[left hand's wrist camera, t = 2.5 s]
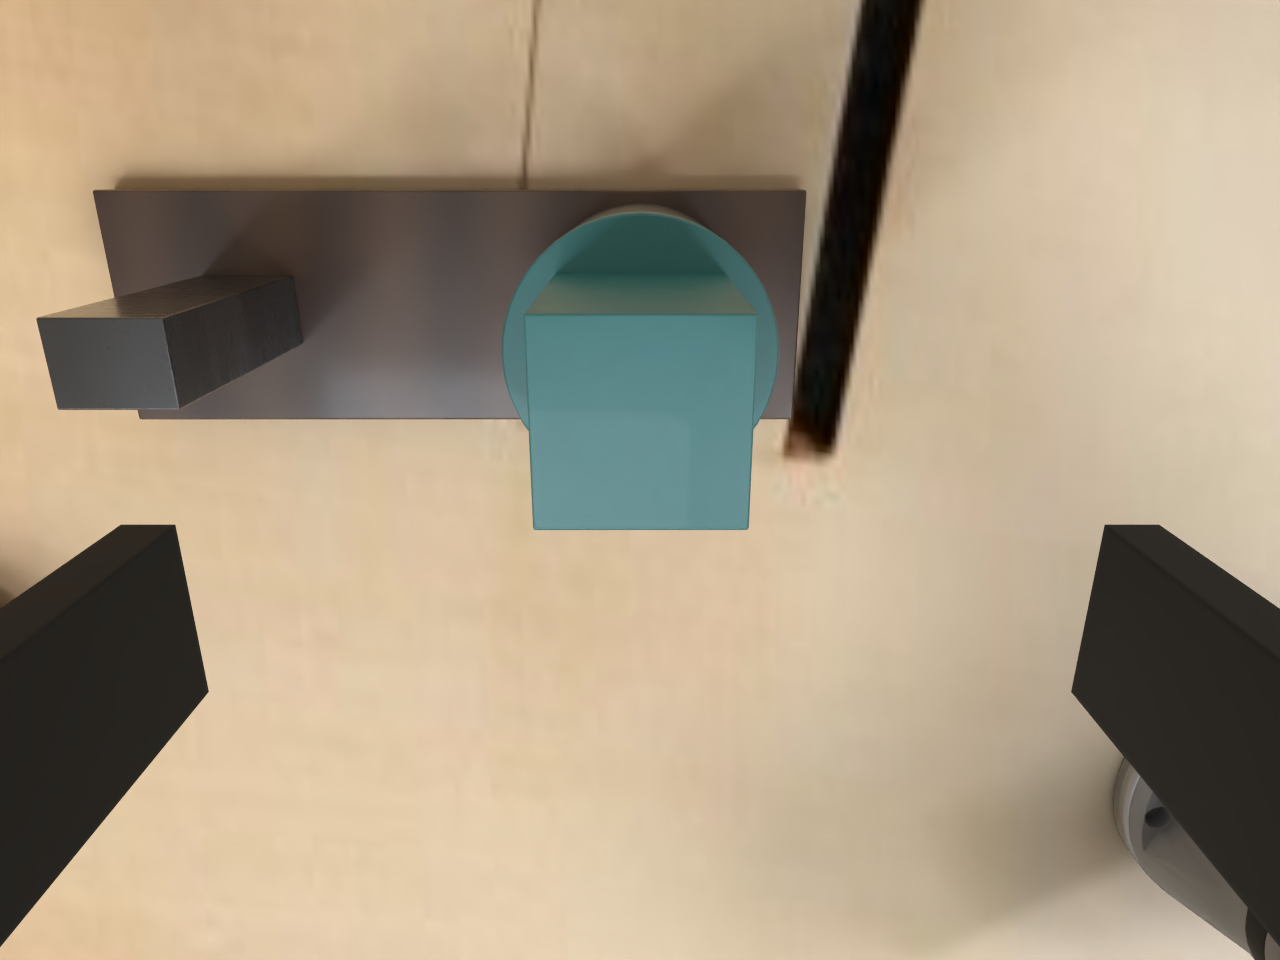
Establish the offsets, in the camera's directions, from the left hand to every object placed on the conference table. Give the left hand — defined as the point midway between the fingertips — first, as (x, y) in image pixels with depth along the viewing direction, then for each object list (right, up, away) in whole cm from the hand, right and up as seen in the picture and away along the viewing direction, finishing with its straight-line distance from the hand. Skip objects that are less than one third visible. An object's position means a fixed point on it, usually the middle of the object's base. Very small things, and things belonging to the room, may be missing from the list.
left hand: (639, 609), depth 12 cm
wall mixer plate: (-8, +10, +27) cm, 30 cm away
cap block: (0, +6, +17) cm, 18 cm away
